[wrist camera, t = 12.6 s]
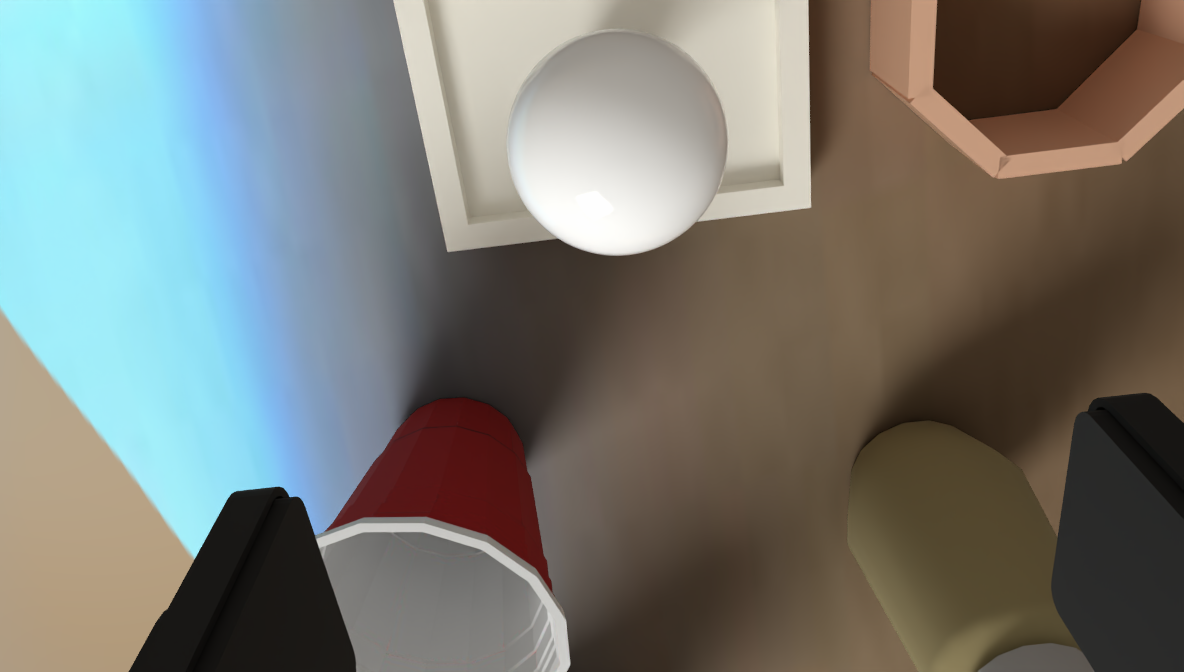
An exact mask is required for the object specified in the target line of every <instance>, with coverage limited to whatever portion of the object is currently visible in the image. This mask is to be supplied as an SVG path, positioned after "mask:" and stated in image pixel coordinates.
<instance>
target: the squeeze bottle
mask: <svg viewBox="0 0 1184 672" xmlns="http://www.w3.org/2000/svg"><path fill="white" fill-rule="evenodd" d="M1057 539H1058V538H1057V536H1056V534H1055V532H1054V530H1053V528H1052V526H1051V525H1050V523H1049V521H1048V519H1047V517H1046V515H1045V513H1044V511H1043V509H1042V507H1041V505H1040V503H1039V502H1038V500H1037V498H1036V496H1035V494H1034V492H1033V490H1032V488H1031V486H1030V484H1029V482H1028V481H1027V479H1026V477H1025V475H1024V473H1023V471H1022V469H1020V468H1019V467H1018V466H1016V465H1015V464H1014V463H1012V462H1011V461H1010V460H1008V459H1007V458H1006V457H1004V456H1003V455H1002V454H1000V453H999V452H998V451H996V450H994V449H992V448H991V447H989V446H987V445H985V444H983V443H982V442H980V441H978V440H976V439H975V438H973V437H971V436H969V435H967V434H966V433H964V432H962V431H960V430H959V429H957V428H955V427H953V426H951V425H947V424H943V423H938V422H934V421H930V420H926V421H917V422H908V423H902V424H900V425H898V426H895V427H893V428H891V429H889V430H886V431H884V432H882V433H880V434H878V435H877V436H876V437H875V438H874V439H873V440H872V441H871V442H870V443H869V444H867V445H866V446H865V447H864V448H863V449H862V450H861V452H860V454H859V456H858V458H857V460H856V462H855V464H854V466H853V468H852V470H851V481H850V492H849V503H848V515H847V544H848V546H849V548H850V550H851V552H852V553H853V555H854V557H855V559H856V561H857V562H858V564H859V566H860V568H861V570H862V571H863V573H864V575H865V577H866V579H867V580H868V582H869V584H870V586H871V588H872V589H873V591H874V593H875V595H876V597H877V598H878V600H879V602H880V604H881V605H882V607H883V609H884V611H885V613H886V614H887V616H888V618H889V620H890V622H891V623H892V625H893V627H894V629H895V631H896V632H897V634H898V636H899V638H900V640H901V641H902V643H903V645H904V647H905V649H906V650H907V652H908V654H909V656H910V658H911V659H912V661H913V663H914V665H915V667H916V668H917V670H918V672H1094V670H1093V668H1092V667H1091V665H1090V664H1089V662H1088V660H1087V659H1086V657H1085V656H1084V654H1083V652H1082V651H1081V649H1080V648H1079V646H1078V644H1077V643H1076V641H1075V640H1074V638H1073V636H1072V635H1071V633H1070V632H1069V630H1068V628H1067V627H1066V625H1065V624H1064V622H1063V620H1062V619H1061V617H1060V616H1059V614H1058V612H1057V610H1056V607H1055V604H1054V601H1053V597H1052V591H1051V580H1052V573H1053V566H1054V559H1055V552H1056V545H1057Z"/></svg>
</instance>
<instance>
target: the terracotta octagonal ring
mask: <svg viewBox="0 0 1184 672" xmlns="http://www.w3.org/2000/svg"><path fill="white" fill-rule="evenodd" d="M936 14H937V0H871V27H870V71H872V72H873V73H872V75H873V76H874V77H875V78H876V79H877V80H879V81H880V82H881V83H882V84H883V85H884V86H885V87H886V88H888V89H889V90H890V91H891V92H892V93H893V94H894V95H895V96H897V97H898V98H899V99H900V100H901V101H902V102H903V103H904V104H906V105H907V106H908V107H909V108H910V109H911V110H912V111H913V112H915V113H916V114H917V115H918V116H919V117H920V118H921V119H922V120H923V121H925V122H926V123H927V124H928V125H929V126H930V127H931V128H932V129H934V130H935V131H936V132H937V133H938V134H939V135H940V136H941V137H943V138H944V139H945V140H946V141H947V142H948V143H950V144H951V145H952V146H953V147H955V148H956V149H957V150H959V151H960V152H961V153H962V154H964V155H965V156H966V157H967V158H969V159H970V160H971V161H973V162H974V163H975V164H976V165H978V166H979V167H980V168H981V169H983V170H984V171H985V172H987V173H988V174H989V175H990V176H992V177H994V176H995V177H996V178H997V179H1002V178H1010V177H1018V176H1026V175H1035V174H1043V173H1051V172H1059V171H1067V170H1075V169H1084V168H1092V167H1100V166H1108V165H1116V164H1121V163H1122V159H1123V160H1125V161H1127V160H1128V159H1130V158H1131V157H1132V156H1133V155H1134V154H1135V153H1136V152H1137V151H1138V150H1139V149H1140V148H1141V147H1142V146H1143V145H1145V144H1146V143H1147V142H1148V141H1149V140H1150V139H1151V138H1152V137H1153V136H1154V135H1155V134H1156V133H1157V132H1158V131H1159V130H1161V129H1162V128H1163V127H1164V126H1165V125H1166V124H1167V123H1168V122H1169V121H1170V120H1171V119H1172V118H1173V117H1174V116H1176V115H1177V114H1178V113H1179V112H1180V111H1181V110H1182V109H1183V108H1184V0H1141V6H1140V13H1139V19H1138V26H1137V30H1136V31H1135V32H1134V33H1133V34H1132V35H1131V36H1130V37H1129V38H1128V39H1127V40H1126V41H1125V42H1124V43H1123V44H1122V45H1121V46H1120V47H1119V48H1118V49H1117V50H1116V51H1115V52H1114V53H1113V54H1112V55H1111V56H1109V57H1108V58H1107V59H1106V60H1105V61H1104V62H1103V63H1102V64H1101V65H1100V66H1099V67H1098V68H1097V69H1096V70H1095V71H1094V72H1093V73H1092V74H1091V75H1090V76H1089V77H1088V78H1087V79H1086V80H1085V81H1084V82H1083V83H1082V84H1081V85H1080V86H1079V87H1078V88H1077V89H1076V90H1075V91H1074V92H1073V93H1072V94H1071V95H1070V96H1069V97H1068V98H1067V99H1066V100H1065V101H1064V102H1063V103H1062V104H1061V105H1060V106H1059V107H1058V108H1057V109H1053V110H1045V111H1037V112H1029V113H1021V114H1013V115H1006V116H998V117H990V118H982V119H974V120H967V119H966V118H965V117H964V116H962V115H961V114H960V113H959V112H958V111H957V110H956V109H955V108H954V107H953V106H951V105H950V104H949V103H948V102H947V101H946V100H945V99H944V98H943V97H942V96H940V95H939V94H938V93H937V92H936V91H935V90H934V89H933V74H934V54H935V34H936Z"/></svg>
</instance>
